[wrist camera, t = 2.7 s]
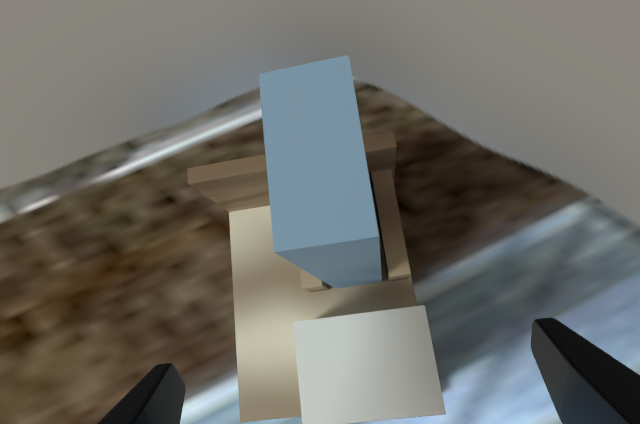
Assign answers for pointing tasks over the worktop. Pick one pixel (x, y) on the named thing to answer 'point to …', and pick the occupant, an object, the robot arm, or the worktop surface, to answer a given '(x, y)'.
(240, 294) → the stand
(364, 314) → the upper offcut
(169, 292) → the worktop surface
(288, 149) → the blue rectangular block
